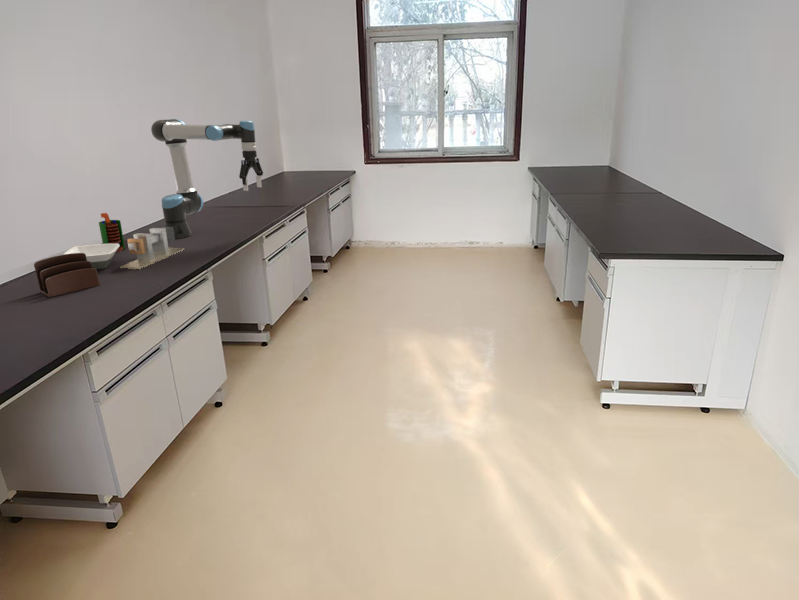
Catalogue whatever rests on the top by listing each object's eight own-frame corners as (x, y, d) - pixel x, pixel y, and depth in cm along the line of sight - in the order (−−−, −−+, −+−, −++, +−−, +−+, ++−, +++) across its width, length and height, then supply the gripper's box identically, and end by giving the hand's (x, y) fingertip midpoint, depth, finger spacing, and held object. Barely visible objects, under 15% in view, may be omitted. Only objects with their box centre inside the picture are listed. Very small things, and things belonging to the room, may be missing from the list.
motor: (114, 253, 279) (107, 215, 272) (99, 253, 281) (92, 215, 274) (127, 248, 288) (120, 211, 281) (113, 248, 290) (106, 211, 283)
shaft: (128, 254, 255) (125, 240, 252) (166, 239, 282) (164, 226, 279) (137, 255, 254) (134, 240, 251) (175, 240, 281) (173, 227, 278)
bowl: (62, 275, 244) (58, 257, 241) (76, 262, 265) (72, 245, 262) (115, 271, 250) (112, 254, 247) (125, 258, 270) (122, 242, 267)
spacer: (129, 253, 257) (127, 239, 255) (132, 252, 259) (130, 238, 257) (142, 254, 256) (140, 239, 253) (145, 253, 258) (142, 238, 255)
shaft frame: (120, 268, 254) (115, 239, 249) (167, 249, 287) (163, 223, 282) (139, 269, 252) (133, 240, 247) (184, 250, 285) (180, 224, 280)
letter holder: (40, 292, 223) (32, 260, 218) (90, 281, 237) (84, 250, 232) (49, 297, 217) (40, 264, 212) (100, 285, 231) (93, 254, 226)
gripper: (242, 152, 285) (246, 192, 292) (267, 148, 307) (270, 186, 315) (230, 151, 287) (234, 191, 295) (255, 148, 309) (259, 185, 317)
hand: (252, 188), depth 305 cm, fingers open, 13 cm apart
